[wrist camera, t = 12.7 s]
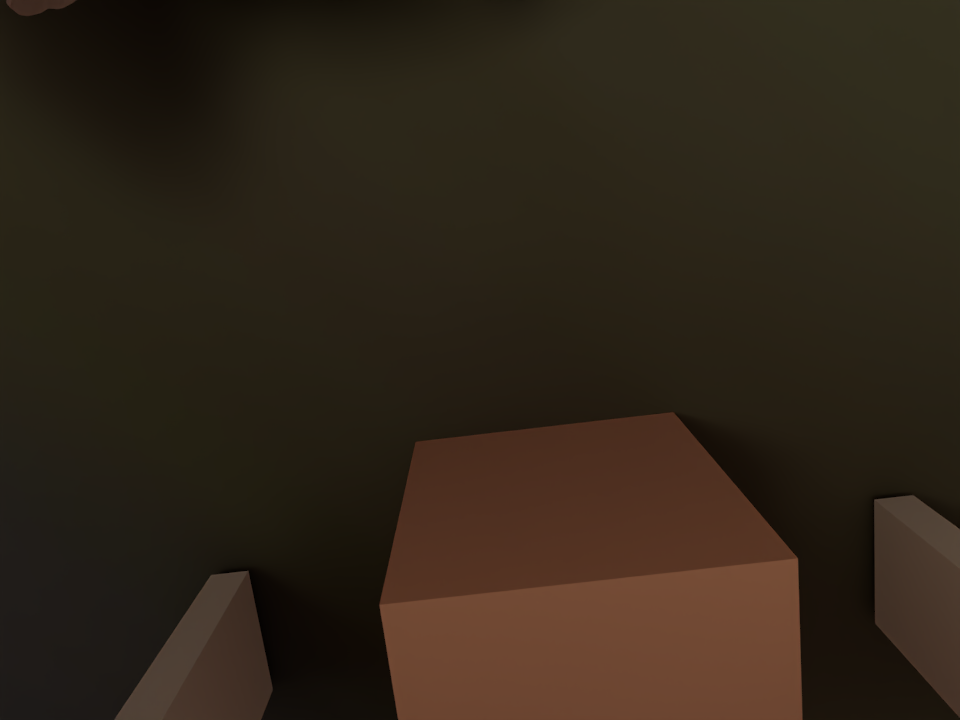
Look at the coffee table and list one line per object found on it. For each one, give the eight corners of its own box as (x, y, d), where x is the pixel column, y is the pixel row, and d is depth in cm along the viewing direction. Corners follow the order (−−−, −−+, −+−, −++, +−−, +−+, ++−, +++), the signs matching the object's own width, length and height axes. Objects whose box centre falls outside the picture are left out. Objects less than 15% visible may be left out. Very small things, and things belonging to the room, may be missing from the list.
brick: (459, 747, 17) (452, 1053, 11) (415, 440, 15) (379, 605, 9) (692, 723, 17) (810, 1016, 11) (672, 410, 15) (797, 558, 9)
